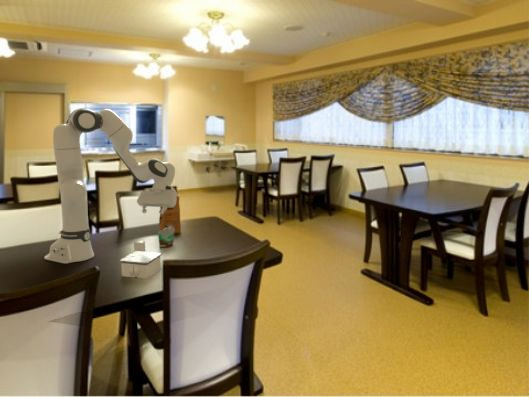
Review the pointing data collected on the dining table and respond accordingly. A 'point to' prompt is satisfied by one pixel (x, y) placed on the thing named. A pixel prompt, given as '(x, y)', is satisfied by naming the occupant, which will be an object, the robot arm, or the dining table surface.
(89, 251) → the robot arm
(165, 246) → the food container
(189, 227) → the dining table surface
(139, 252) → the pan
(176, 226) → the coffee package
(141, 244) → the steel weight
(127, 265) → the scale
